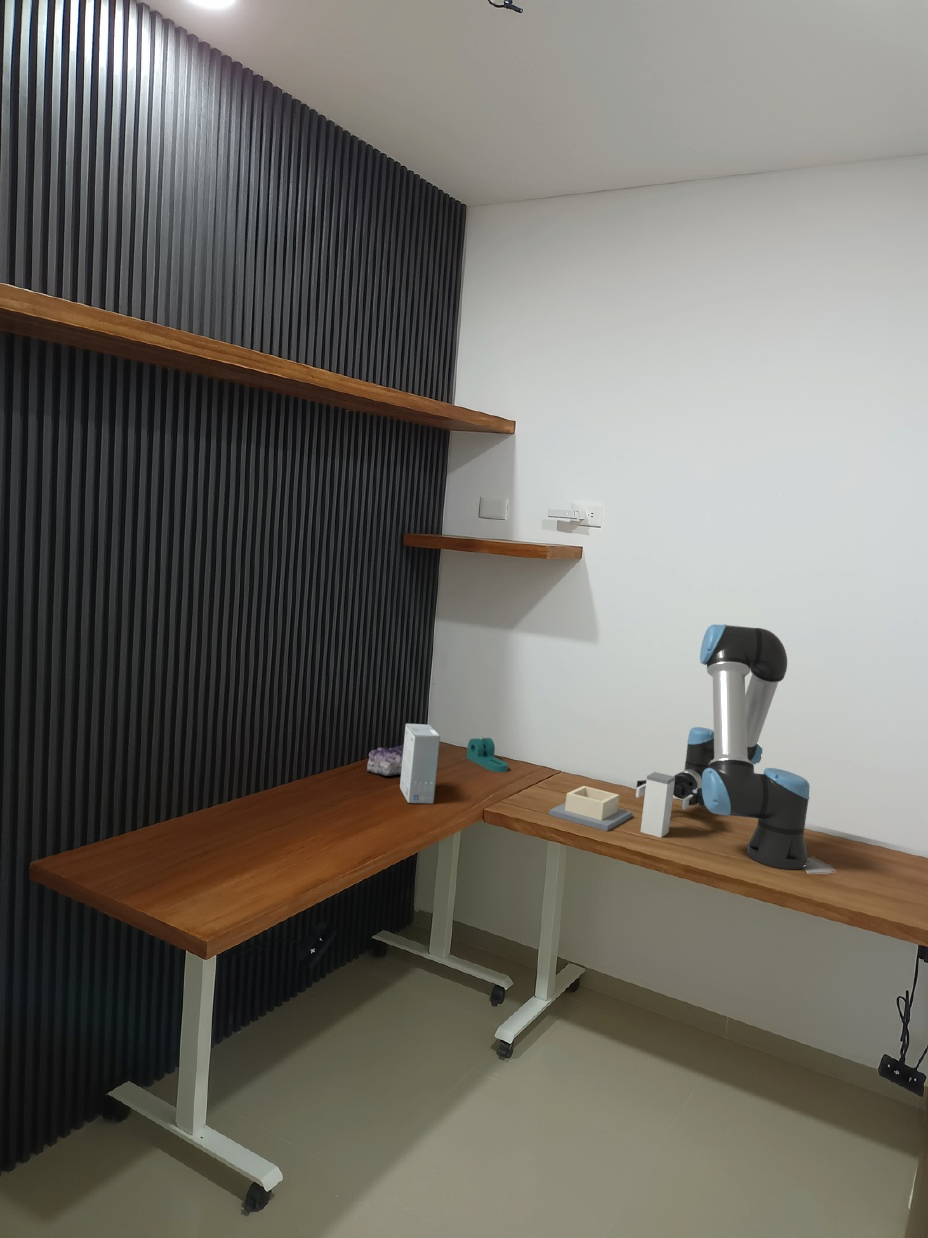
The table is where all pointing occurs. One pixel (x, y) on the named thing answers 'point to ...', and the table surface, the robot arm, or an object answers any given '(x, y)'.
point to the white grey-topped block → (657, 804)
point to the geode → (386, 761)
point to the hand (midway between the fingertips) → (660, 798)
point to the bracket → (485, 755)
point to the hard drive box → (419, 763)
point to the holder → (592, 808)
